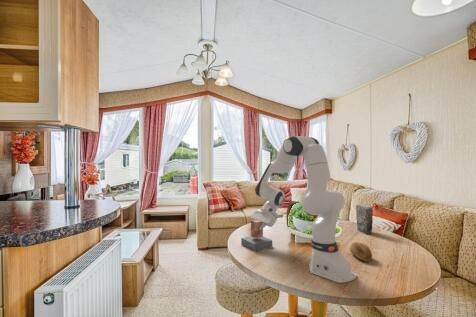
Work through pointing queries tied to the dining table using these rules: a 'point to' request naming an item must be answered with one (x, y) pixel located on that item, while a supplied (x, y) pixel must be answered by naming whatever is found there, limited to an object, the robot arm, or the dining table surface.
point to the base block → (256, 243)
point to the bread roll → (361, 251)
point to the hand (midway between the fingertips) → (255, 228)
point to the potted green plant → (290, 209)
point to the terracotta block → (256, 229)
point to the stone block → (364, 218)
